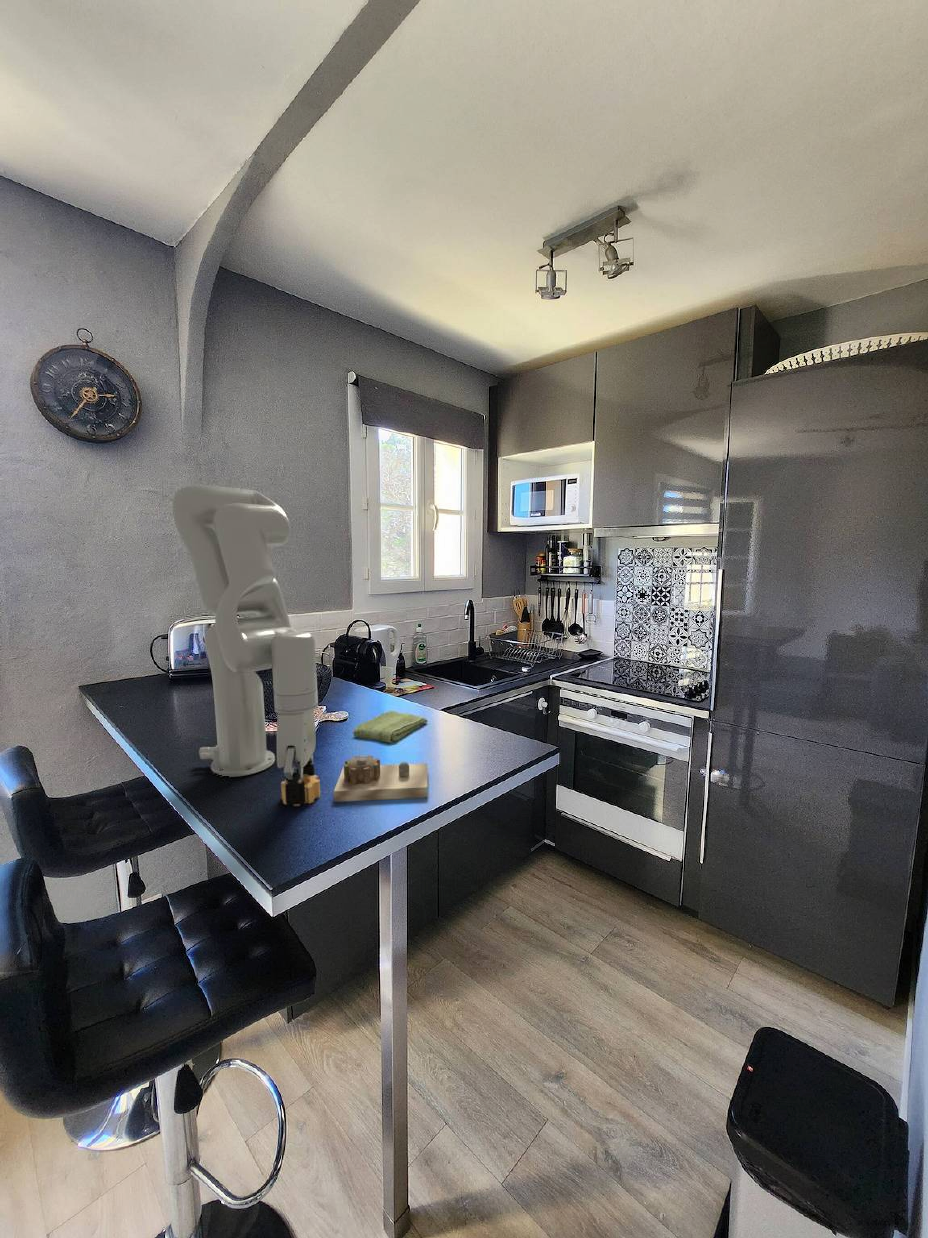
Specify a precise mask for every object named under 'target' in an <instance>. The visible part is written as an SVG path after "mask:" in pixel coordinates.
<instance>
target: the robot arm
mask: <svg viewBox="0 0 928 1238" xmlns="http://www.w3.org/2000/svg"><path fill="white" fill-rule="evenodd" d="M172 517H173V522H174V525H175V527H176V530H177V532H178V535H179V537H180V538H181V539H180V540H182V542H183V544H184V546H185V547H186V549H187V551H188V553H189V556H190V558H191V561H192V565H193V570H194V573H195V574H194V575H195V578H196V582H197V585H198V590H199V594H200V598H201V601H202V604H203V607H204V608H205V610H206V611H207V612H208V613H209V614H210V615H213V616H215V620H214V624H212V625H211V626H209V627H208V629H207V630H206V631H205V634H204V640H203V641H204V647H205V648H204V649H205V652H206V654H207V655H206V656H207V660H208V663H209V668H210V672H211V679H212V687H213V688H212V689H213V700H214V714H215V728H216V740H217V741H216V743H217V744H216V745H215V746H211V747H210V746H201V747H200V748H199V750H198V756H200V757H199V758H200V760H212V762H211V765H210V771H211V770H212V771H213V772H214V773H217V774H219V775H222V776H221V777H223V776H229V777H228V778H235V777H244V776H249V775H254V774H256V773H259V772H261V771H262V772H263V771H265V770H266V769H268V768H270V767H272V765H274V763H275V761H276V765H277V768H278V769H282V768H283V775H284V781H285V786H286V803H287V805H291V806H292V805H293V804H300V805H304V804H306V803H305V782H304V781H302V779H303V774H307V775H310V776H313V775H315V764H314V752H315V750H316V745H317V744H316V743H317V740H316V739H317V738H316V737H317V736H316V723H315V712H314V711H315V710H317V709H318V707H319V698H318V697H319V695H318V680H317V679H318V678H317V677H318V676H317V658H316V643H315V642H316V639H315V637H314V636H313V635H312V634H311V633H310V632H305V631H298V630H296V629H294V628H292V627H291V626H292V625H291V622H290V619H289V615H288V611H287V608H286V603H285V600H284V596H283V593H282V589H281V586H280V584H279V582H278V580H277V579H276V571H275V567H274V565H273V561H272V558H271V553H270V550H269V547H282V546H284V545H286V544H287V543H288V542H289V539H290V537H291V524H290V520H289V518H288V516H287V514H286V513H285V511H284V510H283V509H282V508H281V507H280V505H278V504H277V503H275V502H274V501H273V500H271V499H269V498H268V497H266V496H265V495H263V494H262V493H260V492H259V491H257V490H253V489H247V488H240V487H239V488H237V487H230V486H229V487H227V486H218V485H208V484H207V485H206V484H193V485H192V484H190V485H185V486H183V487H180V488H179V489H178V490H177V491H176V492H175V494H174V496H173V498H172ZM249 614H255V615H256V616H257V617H256V616H255V617H243V618H241V617H240V618H238V615H249ZM269 669H271V670H272V688H273V703H274V705H273V706H274V712H275V713H277V721H276V755H275V753H273V751H271V750H268V749H267V735H266V732H267V731H266V720H265V719H266V717H265V716H266V715H265V701H264V685H263V682H262V679H261V677H260V676H259V675H258V674H257V672H259V671H263V670H269ZM295 763H297V764H296V765H295ZM295 770H296V772H295ZM212 771H211V772H212ZM214 773H213V774H214Z"/></svg>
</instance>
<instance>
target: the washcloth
mask: <svg viewBox="0 0 928 1238" xmlns="http://www.w3.org/2000/svg"><path fill="white" fill-rule="evenodd" d="M428 721H429V720H428V719H427V718H425V717H423V716H419V715H414V714H412V713H408V712H403V713H401V712H399V711H395V710H389V711H386V712H383V713H380V714H379V715H377V716H375V717H373V718H371V719H370V720H367V721H364V722H363V723H360V724H359V725H357V726H356V727H355V728H354V729H353V732H352V734H353V736H354V737H356V738H361V739H366V740H375V741H378V742H383V743H387V744H394V743H396V742H398V741H400V740H401V739H403V738H405V737H406V736H408V735H409V734H411V733H412V732H414V731H416V730H417V729H419V728H420V727H421V726H424V725H425V724H426V723H428Z"/></svg>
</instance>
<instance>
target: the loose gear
mask: <svg viewBox="0 0 928 1238" xmlns="http://www.w3.org/2000/svg"><path fill="white" fill-rule="evenodd" d="M302 781H304V782H305V803H304V804H312V803H314V802H315V799H318V798H320V797H321V784H320V783H321V782H320V781H321V779H319V776H318V775H316V774H314V775H313V776H310V775H307V774H303V779H302ZM280 790H281V792H280V793H281V800H282V803H283V804H284V805H285V806H286V805H288V804H287V803H286V786H285V780H284V781H283V780H282V781H281V782H280ZM292 805H293V807H299V806H301V804H292Z"/></svg>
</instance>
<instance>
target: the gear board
mask: <svg viewBox="0 0 928 1238" xmlns="http://www.w3.org/2000/svg"><path fill="white" fill-rule="evenodd" d="M428 771H429V770H428V763H427V762H425V763H419V762H418V763H408V762H406V761H402V762H400V763H399V764H398V763H397V764H381V759H380V758H379V757H378V758H375V757H374V756H373V755H367V756H361V755H357V756H354V757H353V758H351V759H347V760H345V761H344V764H343V767H342V769H341V773H340V775H339V777H338V780H337V782H336V785H335V786H334V789H333V802H335V803H338V802H339V803H341V802H358V801H359V802H361V801H381V800H384V801H385V800H402V799H403V800H406V799H407V800H408V799H422V798H423V799H425V797H428V786H429V785H428V783H429V780H428V775H429V774H428V773H429V772H428ZM428 798H429V797H428Z"/></svg>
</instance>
